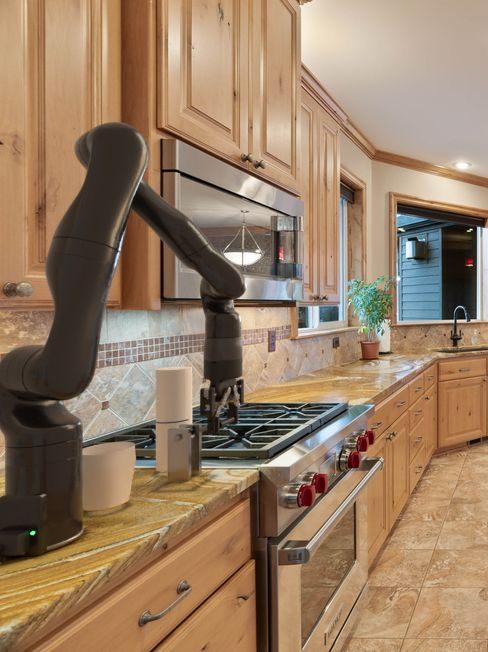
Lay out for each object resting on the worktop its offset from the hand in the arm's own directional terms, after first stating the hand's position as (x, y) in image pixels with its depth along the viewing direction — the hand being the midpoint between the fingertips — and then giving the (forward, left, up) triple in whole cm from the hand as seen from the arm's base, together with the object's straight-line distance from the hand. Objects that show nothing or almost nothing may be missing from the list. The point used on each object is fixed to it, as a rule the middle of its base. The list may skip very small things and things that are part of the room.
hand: (223, 429), depth 105 cm
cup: (-13, +15, -12) cm, 23 cm away
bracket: (0, +8, -12) cm, 15 cm away
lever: (0, +4, -1) cm, 4 cm away
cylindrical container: (+8, +15, -12) cm, 21 cm away
